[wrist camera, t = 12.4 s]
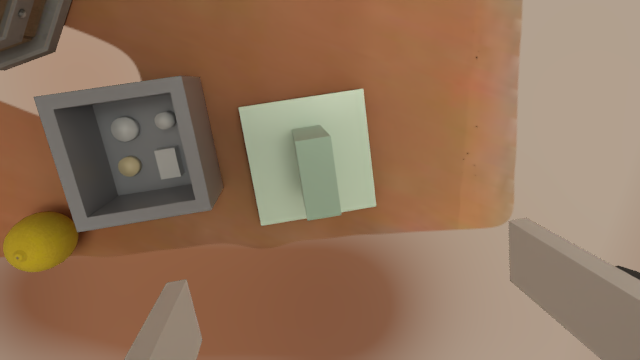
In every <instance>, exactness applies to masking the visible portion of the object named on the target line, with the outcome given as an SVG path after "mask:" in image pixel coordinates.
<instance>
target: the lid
mask: <svg viewBox="0 0 640 360" xmlns="http://www.w3.org/2000/svg"><path fill="white" fill-rule="evenodd" d="M238 108H239V113H240V119H241V124H242V129H243V134H244V139H245V144H246V150H247V155H248V160H249V165H250V170H251V176H252V181H253V186H254V191H255V196H256V201H257V207H258V212H259V217H260V222H261V226H264V225H270V224H276V223H282V222H287V221H293V220H299V219H305V218H307V220H308V221H309V220H315V219H321V218H327V217H332V216H338V215H341V212H346V211H352V210H358V209H364V208H370V207H376V199H375V190H374V181H373V172H372V163H371V154H370V145H369V136H368V127H367V118H366V109H365V100H364V91H363V89H355V90H349V91H342V92H335V93H329V94H322V95H315V96H309V97H302V98H295V99H289V100H282V101H275V102H269V103H262V104H256V105H249V106H242V107H238Z"/></svg>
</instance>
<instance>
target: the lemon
mask: <svg viewBox="0 0 640 360" xmlns="http://www.w3.org/2000/svg"><path fill="white" fill-rule="evenodd" d="M77 241H78V232H77V230H76V227H75V224H74V222H73V221H72V220H71V219H70V218H69V217H67V216H65V215H63V214H60V213H57V212H49V211H48V212H39V213H35V214H33V215H30V216H28V217H25V218H24V219H22V220H21V221H20V222H18V223H17V224H16V225H14V226H13V228H12V229H11V230H10V231H9V233H8V234H7V235H6V238H5V240H4V243H3V252H4V255H5V257H6V259H7V261H8V262H9V263H10V264H11V265H12V266H14V267H15V268H17V269H20V270H22V271H27V272H39V271H43V270H47V269H50V268H52V267H54V266H56V265H58V264H60V263H62V262H63V261H64V260H65V259H66V258H68V257H69V256H70V255H71V254H72V252H73V251H74V249H75V247H76V245H77Z"/></svg>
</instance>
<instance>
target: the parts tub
mask: <svg viewBox="0 0 640 360" xmlns="http://www.w3.org/2000/svg"><path fill="white" fill-rule="evenodd" d="M34 100H35V103H36V106H37V109H38V112H39V116H40V119H41V122H42V125H43V128H44V131H45V134H46V137H47V140H48V143H49V146H50V150H51V153H52V156H53V159H54V162H55V165H56V168H57V171H58V174H59V177H60V181H61V184H62V187H63V190H64V193H65V196H66V199H67V202H68V205H69V208H70V212H71V215H72V218H73V221H74V224H75V227H76V230H77V232H83V231H89V230H95V229H101V228H107V227H113V226H119V225H125V224H131V223H137V222H143V221H149V220H155V219H161V218H167V217H173V216H179V215H185V214H191V213H197V212H203V211H209V210H212V208H213V206H214V204H215V203H216V201H217V199H218V197H219V195H220V193H221V191H222V189H223V188H224V187H223V183H222V178H221V173H220V169H219V164H218V159H217V155H216V150H215V145H214V141H213V136H212V131H211V127H210V122H209V117H208V113H207V108H206V103H205V99H204V94H203V89H202V85H201V80H200V77H192V76H176V77H169V78H162V79H155V80H148V81H141V82H135V83H127V84H120V85H114V86H107V87H100V88H92V89H86V90H78V91H71V92H65V93H58V94H51V95H44V96H37V97H34Z"/></svg>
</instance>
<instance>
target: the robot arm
mask: <svg viewBox="0 0 640 360" xmlns="http://www.w3.org/2000/svg"><path fill="white" fill-rule="evenodd" d="M509 257H510V258H509V260H510V281H511V282H512V283H513V284H514V285H515V286H517V287H518V288H519V289H520V290H521V291H522V292H524V293H525V294H526V295H527V296H528V297H529V298H531V299H532V300H533V301H534V302H535V303H537V304H538V305H539V306H540V307H541V308H542V309H543V310H544V311H546V312H547V313H548V314H549V315H550V316H551V317H553V318H554V319H555V320H556V321H557V322H558V323H560V324H561V325H562V326H563V327H564V328H565V329H567V330H568V331H569V332H570V333H571V334H572V335H573V336H575V337H576V338H577V339H578V340H579V341H580V342H582V343H583V344H584V345H585V346H586V347H587V348H589V349H590V350H591V351H592V352H594V354H596V355H597V356H598V357H599V358H600V359H601V360H640V273H639V272H637V271H633V270H630V269H627V268H624V267H621V266H613V265H611V264H609V263H608V262H606V261H604V260H602V259H601V258H598V257H597V256H595V255H593V254H591V253H590V252H588V251H586V250H584V249H582V248H580V247H579V246H577V245H575V244H573V243H571V242H569V241H568V240H566V239H564V238H562V237H561V236H559V235H557V234H555V233H553V232H551V231H550V230H548V229H546V228H544V227H542V226H541V225H539V224H537V223H535V222H533V221H531V220H530V219H528V218H523V219H517V220H511V221H509ZM201 342H202V337H201V333H200V329H199V325H198V321H197V318H196V314H195V310H194V306H193V302H192V298H191V295H190V291H189V287H188V283H187V280H186V279H185V280H179V281H174V282H169V283H166V285H165V287H164V288H163V290H162V292H161V294H160V296H159V298H158V299H157V301H156V303H155V305H154V307H153V308H152V310H151V312H150V314H149V316H148V317H147V319H146V321H145V323H144V325H143V326H142V328H141V330H140V332H139V334H138V335H137V337H136V339H135V341H134V342H133V344H132V346H131V348H130V350H129V352H128V353H127V355H126V357H125V359H124V360H196V359H197V356H198V352H199V349H200V345H201Z"/></svg>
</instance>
